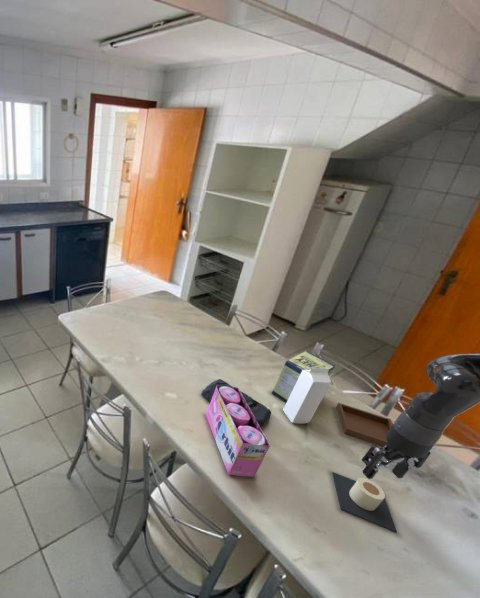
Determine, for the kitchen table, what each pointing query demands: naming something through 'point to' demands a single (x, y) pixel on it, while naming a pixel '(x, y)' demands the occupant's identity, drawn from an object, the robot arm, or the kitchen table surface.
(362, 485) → the masking tape
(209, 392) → the black pouch
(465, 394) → the robot arm
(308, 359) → the protein box
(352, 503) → the mat
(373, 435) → the tray
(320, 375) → the milk
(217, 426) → the gum box
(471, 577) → the kitchen table surface
